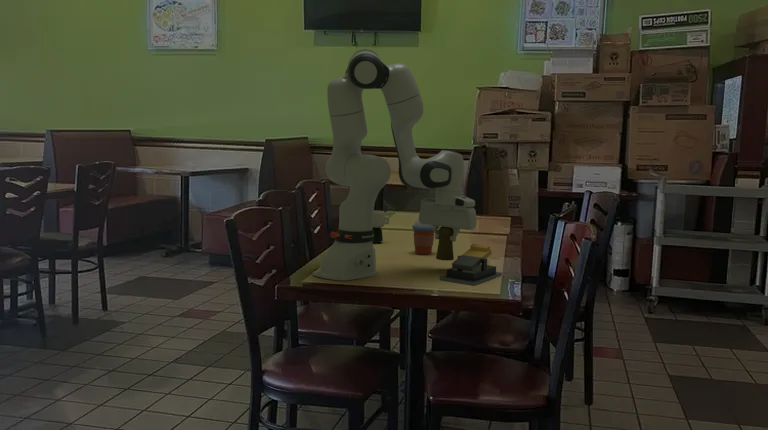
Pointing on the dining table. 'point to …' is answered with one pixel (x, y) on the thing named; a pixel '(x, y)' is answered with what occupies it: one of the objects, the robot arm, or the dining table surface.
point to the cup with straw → (423, 238)
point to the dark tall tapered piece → (445, 244)
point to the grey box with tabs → (472, 274)
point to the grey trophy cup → (378, 224)
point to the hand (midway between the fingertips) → (445, 240)
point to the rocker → (472, 257)
